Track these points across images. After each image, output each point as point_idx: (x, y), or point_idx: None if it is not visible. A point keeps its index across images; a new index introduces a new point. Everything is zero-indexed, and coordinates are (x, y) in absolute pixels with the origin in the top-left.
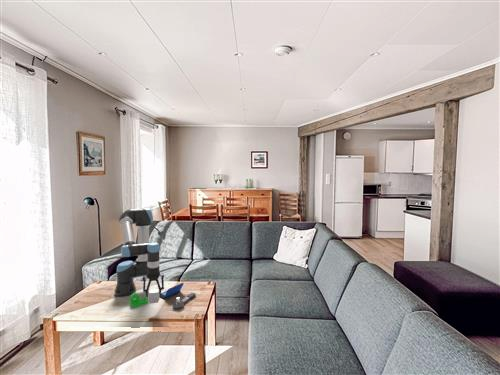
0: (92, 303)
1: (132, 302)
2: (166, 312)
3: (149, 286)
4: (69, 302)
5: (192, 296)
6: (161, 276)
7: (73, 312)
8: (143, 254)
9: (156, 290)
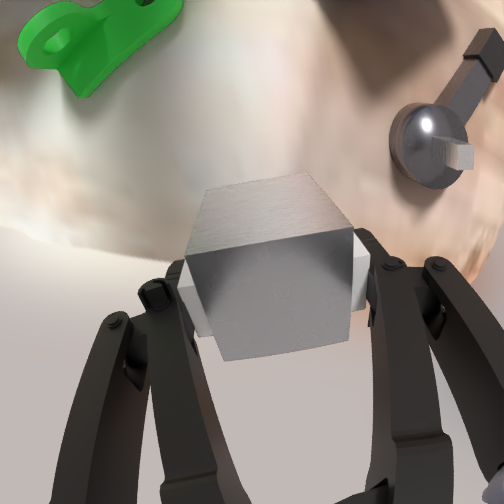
0: None
1: (60, 61)
2: (349, 200)
3: (216, 420)
4: None
5: (499, 71)
6: (501, 497)
7: None
8: None
9: (327, 296)
